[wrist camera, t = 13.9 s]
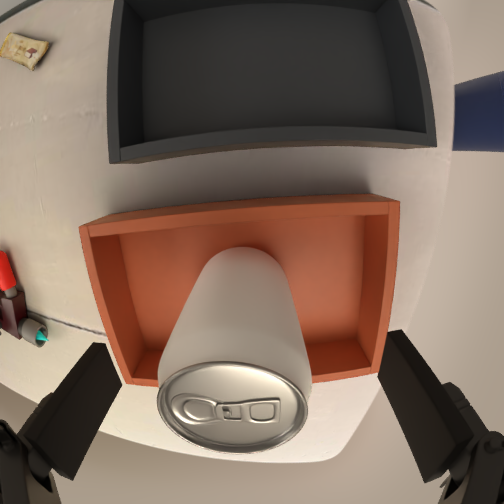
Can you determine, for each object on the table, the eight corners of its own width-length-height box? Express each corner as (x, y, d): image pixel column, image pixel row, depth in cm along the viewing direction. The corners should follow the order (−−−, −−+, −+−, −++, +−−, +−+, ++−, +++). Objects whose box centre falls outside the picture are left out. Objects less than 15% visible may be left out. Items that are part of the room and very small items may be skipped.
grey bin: (380, 9, 14) (401, -14, 10) (405, 148, 17) (437, 147, 13) (136, 19, 14) (114, -5, 10) (137, 163, 18) (109, 164, 14)
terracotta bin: (372, 193, 19) (400, 201, 14) (362, 342, 22) (379, 372, 18) (108, 214, 19) (77, 226, 15) (142, 353, 23) (125, 384, 19)
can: (194, 246, 20) (124, 347, 8) (287, 242, 19) (329, 346, 8) (204, 326, 21) (168, 454, 10) (287, 323, 21) (311, 455, 10)
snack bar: (-4, 56, 13) (4, 32, 11) (6, 54, 14) (14, 31, 13) (32, 72, 14) (41, 42, 13) (44, 70, 16) (53, 41, 14)
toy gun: (57, 346, 23) (34, 372, 19) (-8, 310, 22) (-31, 327, 18) (48, 264, 20) (15, 284, 16) (-18, 237, 20) (-46, 249, 15)
